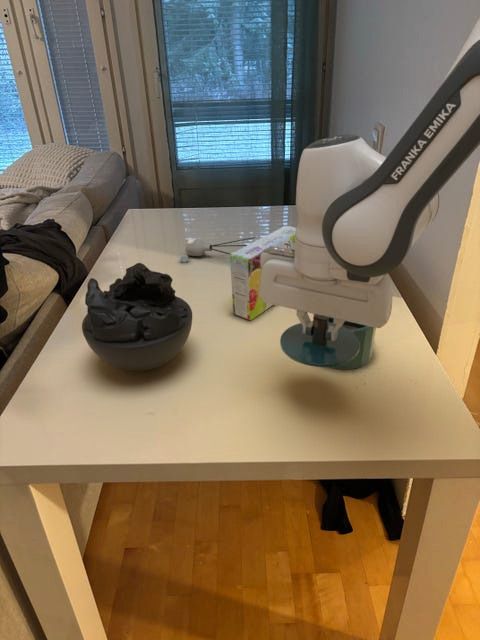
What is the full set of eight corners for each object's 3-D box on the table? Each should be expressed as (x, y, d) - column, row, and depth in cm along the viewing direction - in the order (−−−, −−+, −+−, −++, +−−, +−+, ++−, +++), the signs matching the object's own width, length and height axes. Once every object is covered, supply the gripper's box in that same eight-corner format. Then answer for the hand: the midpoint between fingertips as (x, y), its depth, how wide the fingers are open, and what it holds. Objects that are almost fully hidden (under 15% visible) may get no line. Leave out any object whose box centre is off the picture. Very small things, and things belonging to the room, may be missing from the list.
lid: (368, 336, 77) (372, 307, 74) (345, 379, 68) (348, 347, 65) (298, 320, 83) (298, 292, 80) (267, 357, 73) (266, 327, 70)
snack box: (283, 280, 119) (285, 224, 112) (302, 286, 116) (305, 228, 109) (231, 314, 105) (228, 252, 98) (250, 322, 102) (250, 258, 95)
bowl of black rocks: (205, 335, 98) (198, 252, 88) (182, 398, 81) (171, 303, 71) (114, 330, 101) (98, 249, 91) (74, 390, 84) (49, 298, 74)
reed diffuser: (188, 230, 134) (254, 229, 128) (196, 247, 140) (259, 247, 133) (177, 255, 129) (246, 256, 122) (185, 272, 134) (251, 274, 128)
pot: (377, 344, 94) (383, 307, 89) (361, 376, 85) (367, 337, 81) (323, 330, 99) (326, 295, 94) (302, 359, 90) (304, 322, 86)
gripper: (251, 251, 69) (252, 330, 76) (390, 276, 60) (378, 362, 67) (269, 237, 74) (269, 313, 81) (401, 258, 65) (388, 341, 72)
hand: (320, 335), depth 74 cm, fingers closed on lid, 2 cm apart
